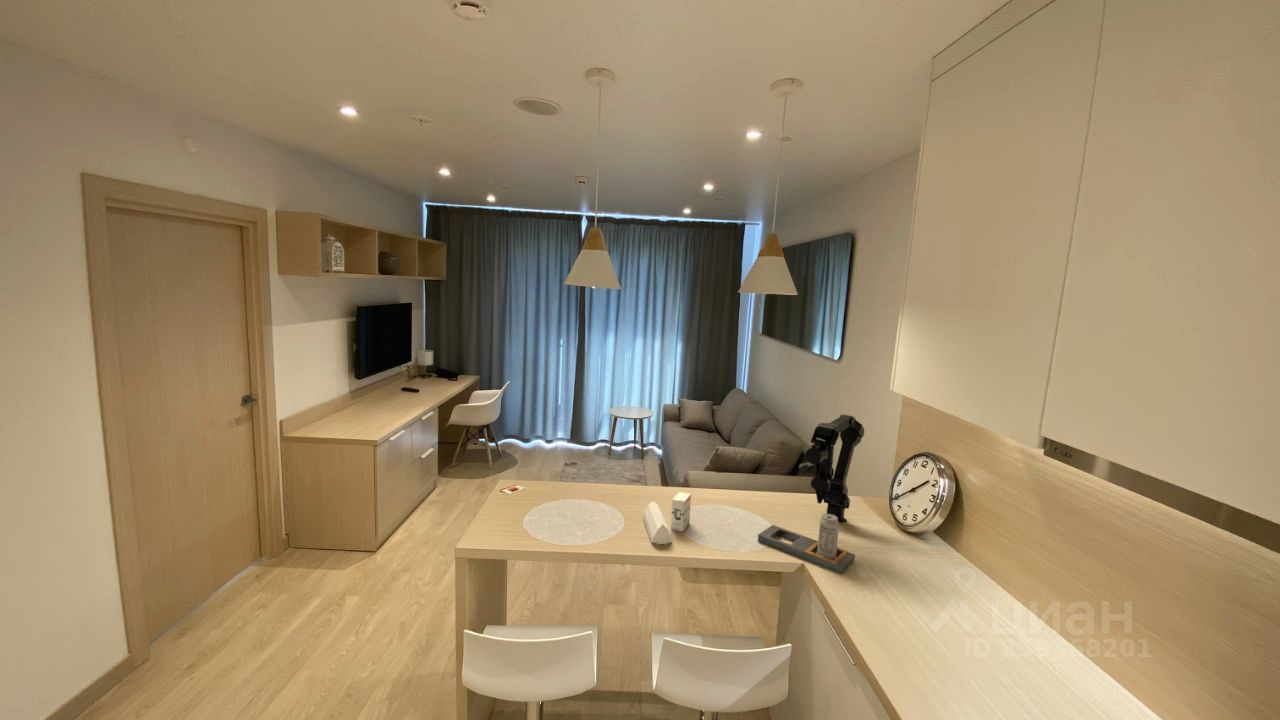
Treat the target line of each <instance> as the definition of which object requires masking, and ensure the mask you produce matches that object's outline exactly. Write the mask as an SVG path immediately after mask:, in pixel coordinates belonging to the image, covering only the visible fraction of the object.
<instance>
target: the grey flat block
mask: <svg viewBox="0 0 1280 720" xmlns="http://www.w3.org/2000/svg"><path fill="white" fill-rule="evenodd" d="M778 537H782V538H784V539H787V540H790V541H792V543H790V544H789V543H787V542H785V541H782V540H779V539H777V538H778ZM757 542H760V543H761V544H764V545H767V546H769V547H772V548H774V549H776V550H778V551H782V552H784V553H787V554H789V555H792V556H794V557H797V558H800V559H801V560H805V561H807V562H809V563H813V564H815V565H818V566H820V567H822V568H825V569H828V570H830V571H833V572H834V573H838V574H841V575H843V574H844V573H845V572H846V571H847V570H848V569H849V568H850V567H851V566H852V565H853V564H854V563H855V559H856V554H854V553H851V552H849V551H848V550H845V549H842V548H840V547H837V552H836V559H835V560H832V559H829V558H826V557H824V556H821V555H819V554H817V548H818V540H816V539H813V538H811V537H807V536H805V535H803V534H800V533H797V532H793V531H791V530H788V529H786V528H783V527H780V526H777V525H775V524H772V525H770V526H769V527H767V528H765V530H763V531H761V532H760V533H758V534H757Z"/></svg>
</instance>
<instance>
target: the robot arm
mask: <svg viewBox="0 0 1280 720" xmlns="http://www.w3.org/2000/svg"><path fill="white" fill-rule="evenodd" d="M864 436H865V429H864V426H863V424H862V423H861V422H860V421H858V420H856V417H855V416H853V415H848V414H840V416H838V418H835V419H834V420H833V421H831V422H820V423H818V424H817V426H816V427H815V429H814V431H813V434H812V437H811V439H810V443H812V444H811V447H810V448H808V449H807V450H806V452H805V459H806V461H807V462H803V463H799V466H798V469H799V470H798V471H799V473H800V474H801V476H805V475H810V474H812V475H813V477H811V479H810V480H811V481H810V486H811V488H813V489H814V490H815V494H816V501H817V504H822V502H823V503H824V504H827V507H826V514H832V515H835V516H836V517H837V518H838V522H839V524H840V523H844V522H847V520H848V519H847V518H845V510H846V509H850V505H851V504H850V503H851V499H850V497H849V494H848V492H849V490H848V486H847V483H846V482H847V477H848V473H849V470H850V466H851V462H852V457H853V455H854V451H855V448H856V446H858V445H859V444H860V443H861V442H862V440H863V439H862V438H863V437H864ZM839 437H840V441H841V447H840V451H839V454H838V458H837V461H836V462H837V463H836V466H835V469H834V468H833V464H834V460H833V459H834V449H835V446H836V444H837V442H838V440H839Z"/></svg>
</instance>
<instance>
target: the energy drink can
mask: <svg viewBox="0 0 1280 720" xmlns="http://www.w3.org/2000/svg"><path fill="white" fill-rule="evenodd" d="M818 529H819V530H818V538H817V539H818V540H817V541H818V548H817V553H816V554H819V555H821V556H824V557H826V558H829V559H832V560H835V559H836V558H837V557H836V552H837V548H838V542H839V541H838V539H839V531H840V530H839V529H840V523H839V522H838V518H837V517H836V516H835V515H832V514H827V513H824V514H822V517H821V518H819V527H818Z"/></svg>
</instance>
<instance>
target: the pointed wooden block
mask: <svg viewBox="0 0 1280 720" xmlns="http://www.w3.org/2000/svg"><path fill="white" fill-rule="evenodd" d="M642 518H643V521H644V525H645V527H646V531H647V534H648V536H649V540H650V542H651V543H653V544H654V543H657V544H656V545H658V544H664V545H668V544H667V543H669V544H670V543H672V542H673V537H672V533H671V531H670V529H669V527H668V525H667V522H666V519H665V517H664V515H663V513H662V510H661V509H660V507H659V504H657V503H656V502H655V501H651V502H649V503H648V505H647V507H646V508H645V510H644V512H643V515H642Z"/></svg>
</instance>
